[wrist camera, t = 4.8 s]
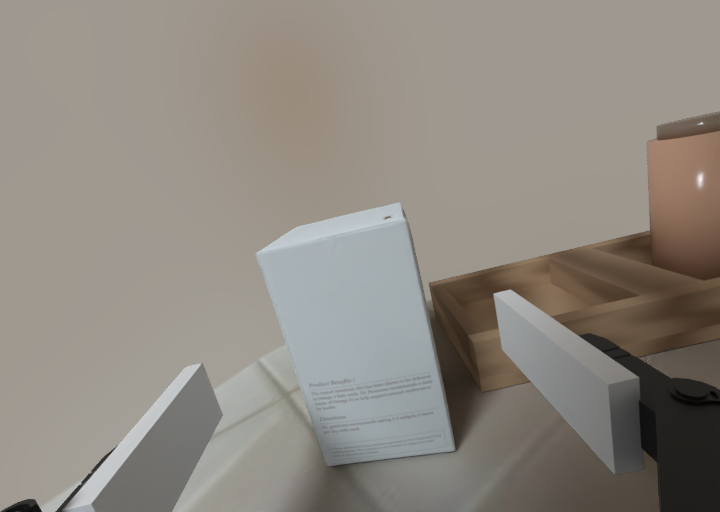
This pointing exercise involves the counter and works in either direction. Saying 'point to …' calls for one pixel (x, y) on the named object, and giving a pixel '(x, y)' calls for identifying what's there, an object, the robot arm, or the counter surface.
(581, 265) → the walnut two-slot caddy
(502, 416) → the counter surface
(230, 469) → the counter surface
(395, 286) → the supplement box
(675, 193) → the terracotta jar
